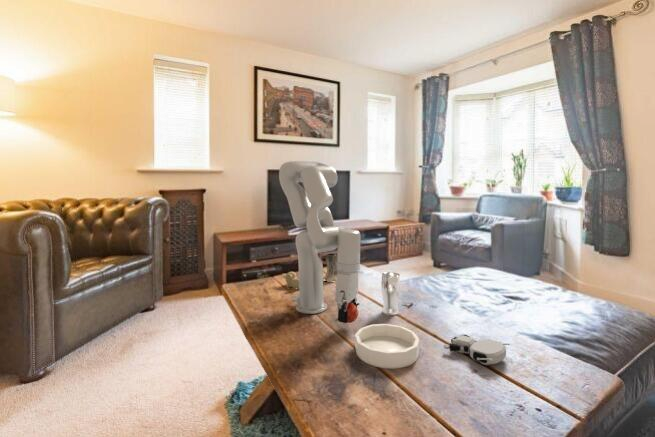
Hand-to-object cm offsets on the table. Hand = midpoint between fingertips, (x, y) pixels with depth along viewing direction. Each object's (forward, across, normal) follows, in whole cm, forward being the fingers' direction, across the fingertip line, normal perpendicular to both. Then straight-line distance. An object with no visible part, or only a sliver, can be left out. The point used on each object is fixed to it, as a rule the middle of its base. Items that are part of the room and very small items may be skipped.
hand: (347, 316), depth 112 cm
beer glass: (+5, -20, +10) cm, 23 cm away
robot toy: (+3, +2, +40) cm, 40 cm away
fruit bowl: (+4, +10, +16) cm, 19 cm away
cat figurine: (+7, -33, -40) cm, 53 cm away
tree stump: (+7, -51, -28) cm, 59 cm away
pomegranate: (+2, 0, 0) cm, 2 cm away
